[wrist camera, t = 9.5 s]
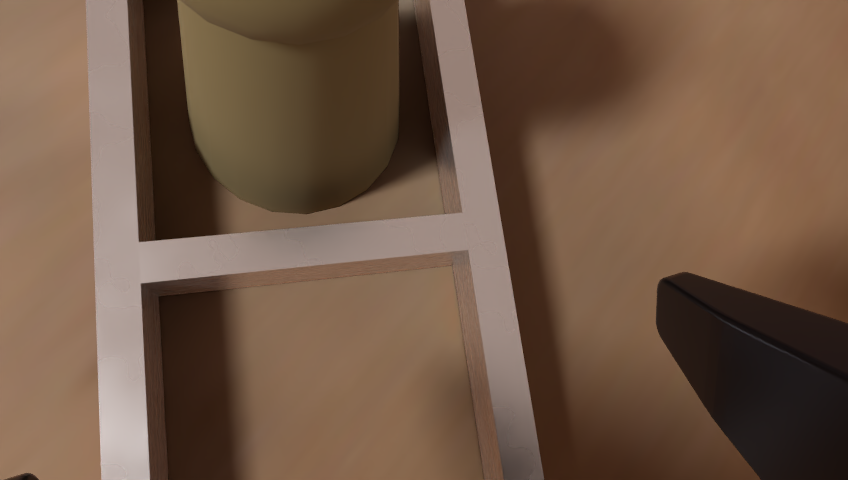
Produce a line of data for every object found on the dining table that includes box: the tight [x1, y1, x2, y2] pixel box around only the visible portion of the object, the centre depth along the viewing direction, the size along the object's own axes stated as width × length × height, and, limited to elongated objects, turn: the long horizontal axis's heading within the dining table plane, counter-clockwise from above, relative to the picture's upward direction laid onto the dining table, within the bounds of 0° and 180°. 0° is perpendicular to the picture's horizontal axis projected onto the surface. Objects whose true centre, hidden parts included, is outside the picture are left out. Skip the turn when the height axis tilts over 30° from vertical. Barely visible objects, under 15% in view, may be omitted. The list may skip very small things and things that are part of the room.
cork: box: [177, 0, 400, 214], centre depth 14 cm, size 6×6×11 cm
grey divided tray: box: [86, 0, 544, 480], centre depth 18 cm, size 19×10×2 cm, turn 8°
